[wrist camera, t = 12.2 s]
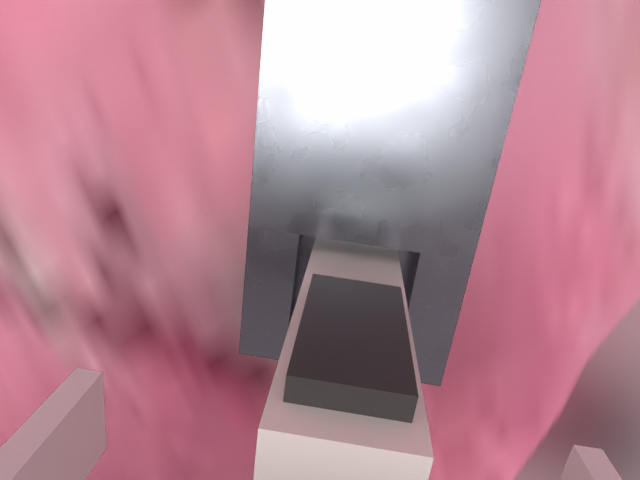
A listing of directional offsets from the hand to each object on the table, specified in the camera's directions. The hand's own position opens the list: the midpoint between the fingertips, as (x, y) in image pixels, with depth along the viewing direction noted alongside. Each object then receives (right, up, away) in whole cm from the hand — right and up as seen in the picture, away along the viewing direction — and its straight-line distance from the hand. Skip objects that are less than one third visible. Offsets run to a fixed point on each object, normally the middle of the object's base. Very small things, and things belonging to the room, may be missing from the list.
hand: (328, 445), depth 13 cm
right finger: (+1, +4, +10) cm, 11 cm away
